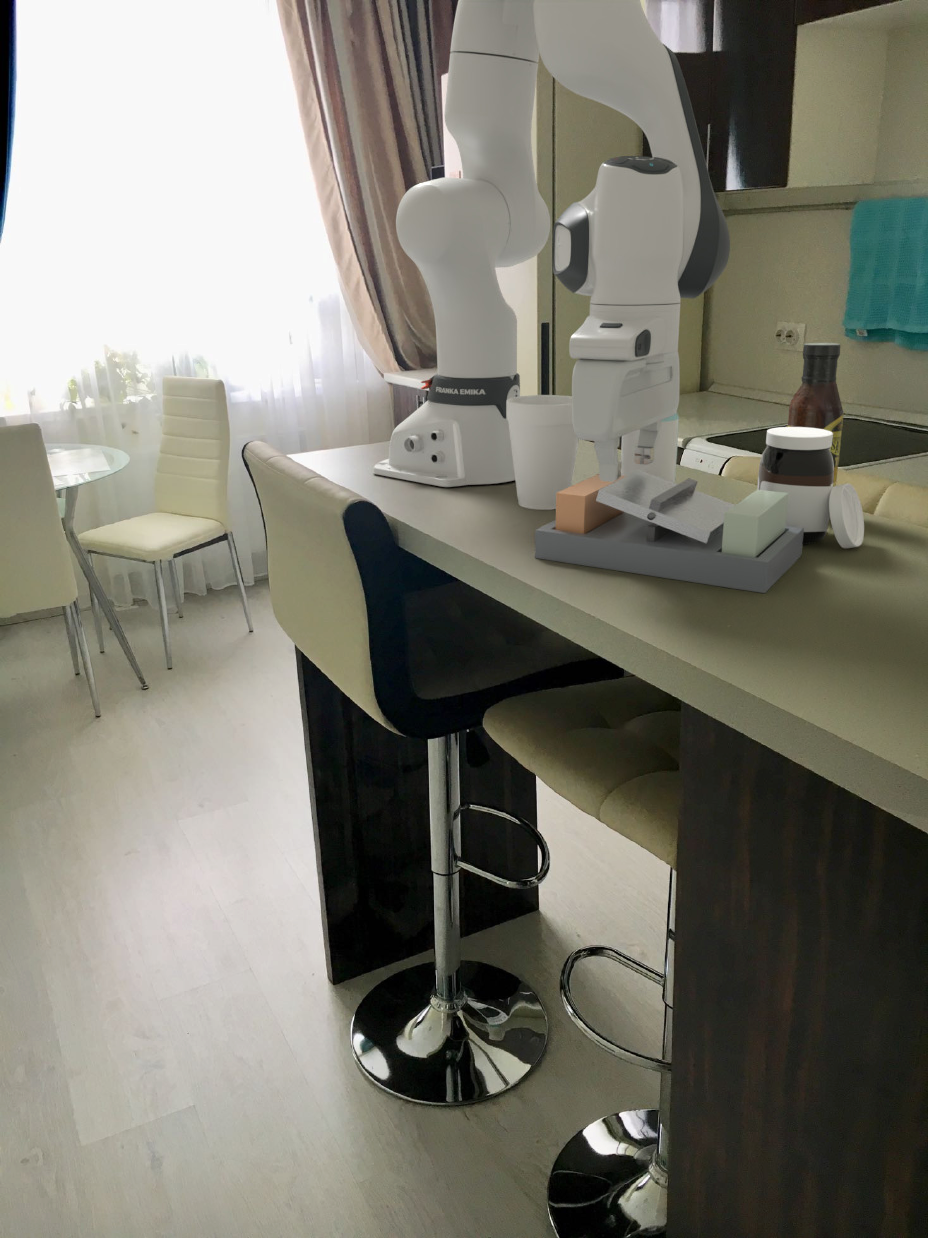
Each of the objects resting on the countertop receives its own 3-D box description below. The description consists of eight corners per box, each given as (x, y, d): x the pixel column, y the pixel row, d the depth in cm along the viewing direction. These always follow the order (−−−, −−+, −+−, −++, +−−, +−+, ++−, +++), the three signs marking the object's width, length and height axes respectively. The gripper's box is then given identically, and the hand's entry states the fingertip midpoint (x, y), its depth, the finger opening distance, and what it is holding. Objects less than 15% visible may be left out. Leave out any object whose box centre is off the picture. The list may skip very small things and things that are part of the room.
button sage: (721, 553, 96) (724, 512, 95) (753, 527, 105) (756, 489, 104) (754, 557, 95) (758, 516, 94) (784, 531, 104) (788, 492, 102)
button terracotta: (555, 530, 105) (556, 492, 104) (598, 508, 114) (599, 473, 112) (583, 534, 103) (584, 496, 102) (624, 511, 112) (626, 475, 111)
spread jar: (749, 523, 118) (758, 423, 114) (850, 527, 116) (863, 425, 112) (759, 552, 107) (769, 442, 103) (871, 556, 105) (886, 444, 101)
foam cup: (525, 515, 122) (526, 407, 118) (494, 499, 130) (494, 397, 126) (594, 507, 126) (597, 402, 121) (560, 492, 134) (562, 393, 129)
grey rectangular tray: (534, 557, 106) (535, 516, 104) (589, 527, 117) (591, 489, 115) (764, 593, 94) (769, 546, 92) (801, 555, 105) (805, 513, 104)
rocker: (594, 501, 101) (600, 480, 100) (637, 479, 111) (643, 460, 110) (705, 544, 97) (712, 523, 96) (740, 517, 106) (747, 498, 105)
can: (616, 501, 129) (620, 406, 125) (621, 489, 135) (625, 398, 131) (672, 503, 127) (678, 407, 123) (675, 491, 134) (681, 399, 130)
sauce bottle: (836, 520, 119) (856, 346, 112) (781, 517, 120) (798, 345, 113) (828, 506, 125) (847, 341, 118) (776, 505, 126) (792, 340, 119)
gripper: (642, 326, 110) (636, 452, 115) (561, 340, 94) (558, 487, 98) (698, 327, 107) (689, 456, 112) (624, 342, 90) (618, 493, 95)
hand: (627, 471), depth 105 cm, fingers open, 8 cm apart
